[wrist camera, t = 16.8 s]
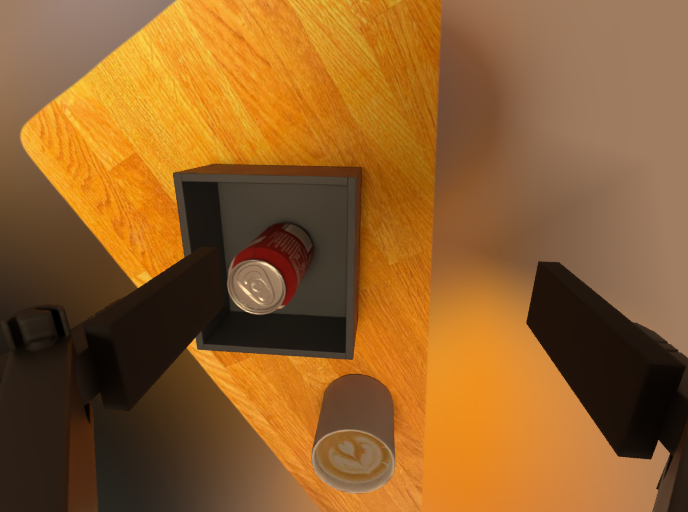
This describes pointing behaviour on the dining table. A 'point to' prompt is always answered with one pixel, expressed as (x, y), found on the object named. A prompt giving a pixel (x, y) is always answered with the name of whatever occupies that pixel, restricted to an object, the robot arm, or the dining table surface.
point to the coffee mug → (355, 435)
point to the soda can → (270, 269)
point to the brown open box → (255, 217)
